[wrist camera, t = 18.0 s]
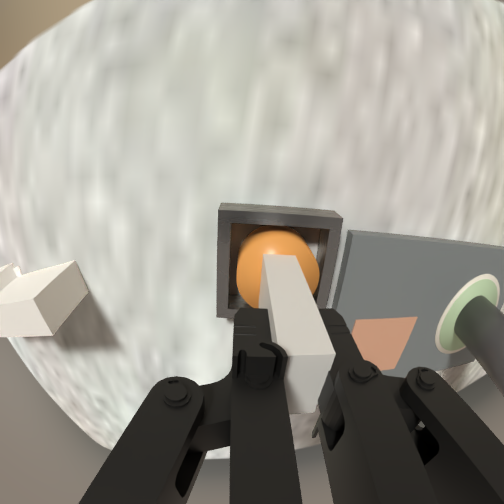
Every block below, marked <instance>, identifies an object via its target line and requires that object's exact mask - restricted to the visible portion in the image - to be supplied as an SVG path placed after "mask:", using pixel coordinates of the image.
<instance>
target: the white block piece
mask: <svg viewBox="0 0 504 504" xmlns="http://www.w3.org/2000/svg"><path fill="white" fill-rule="evenodd" d="M88 292H89V291H88V289H87V287H86V284H85V282H84V280H83V278H82V275H81V273H80V270H79V268H78V266H77V263H76V261H75V260H74V261H71V262H67V263H63V264H59V265H56V266H52V267H48V268H45V269H41V270H38V271H34V272H30V273H27V274H22V272H21V269H20V267H19V266H17V267H14V264H13V263H11V264H8V265H5V266H2V267H0V337H31V336H53V335H54V334H55V333H56V331H57V330H58V329H59V328H60V326H61V325H62V324H63V322H64V321H65V320H66V319H67V317H68V316H69V315H70V314H71V313H72V311H73V310H74V309H75V308H76V306H77V305H78V304H79V303H80V302H81V301H82V299H83V298H84V297H85V296H86V295H87V293H88Z"/></svg>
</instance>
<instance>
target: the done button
mask: <svg viewBox="0 0 504 504" xmlns="http://www.w3.org/2000/svg"><path fill="white" fill-rule="evenodd" d="M263 254H277V255H295V256H296V258H297V260H298V263H299V265H300V267H301V270H302V272H303V274H304V277H305V279H306V281H307V284H308V286H309V289H310V291H311V293H312V295H313V294H314V292H315V290H316V288H317V286H318V282H319V267H318V264H317V261H316V259H315V257H314V255H313V254H312V252H311V250H310V248H309V247H308V245H307V243H306V241H305V240H304V238H303V237H302V236H301V235H300V234H299V233H298V232H297V231H296V230H294V229H292V228H290V227H288V226H278V225H266V226H262V227H260V228H257V229H256V230H254V231H252V232H251V233H250V234H249V235H248V236H247V237H246V238H245V239H244V240H243V242H242V244H241V246H240V248H239V252H238V260H237V287H238V290H239V293H240V294H241V296H242V298H243V299H244V300H245V301H246V302H247V303H248V304H249V305H250V306H251V307H253V308H259V305H258V304H259V293H260V282H261V271H262V260H263Z"/></svg>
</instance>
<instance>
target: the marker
mask: <svg viewBox="0 0 504 504" xmlns="http://www.w3.org/2000/svg"><path fill="white" fill-rule="evenodd" d="M454 332H455V334H456V335H457V336H458V338H459V339H460V340H461V341H462V342H463V344H464V345H465V346H466V347H467V348H468V350H469V351H470V352H471V353H472V355H473V356H474V357H475V358H476V360H477V361H478V362H479V364H480V365H481V366H482V367H483V369H484V370H485V371H486V373H487V374H488V375H489V376H490V378H491V379H492V381H493V382H494V384H495V385H496V386H497V387H498V389H499V390H500V392H501V393H502V395H503V396H504V314H503V313H502V312H501V311H500V310H499V309H498V308H497V307H496V306H495V305H493V304H492V303H491V302H490V301H489V300H488V299H487V298H486V297H484V296H482V295H480V296H476V297H474V298H473V299H472V300H470V301H469V302H468V303H467V304H466V305H465V306H464V308H463V309H462V310H461V312H460V313H459V315H458V317H457V319H456V322H455V326H454Z"/></svg>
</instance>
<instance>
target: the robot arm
mask: <svg viewBox="0 0 504 504" xmlns="http://www.w3.org/2000/svg"><path fill="white" fill-rule="evenodd" d="M258 305H259V308H240V309H239V310H238V311H237V313H236V314H235V315H234V333H233V357H232V368H231V371H230V372H229V374H228V375H227V376H226V377H225V378H224V379H222V380H220V381H218V382H215V383H211V384H206V385H201V386H199V385H198V384H197V383H196V382H195V381H192V380H190V379H188V378H185V377H177V376H176V377H169V378H165V379H163V380H161V381H159V382H158V383H157V384H156V385H155V386H154V387H153V388H152V389H151V390H150V392H149V394H148V395H147V397H146V398H145V400H144V401H143V403H142V404H141V406H140V408H139V409H138V411H137V412H136V414H135V415H134V417H133V418H132V420H131V422H130V423H129V425H128V426H127V428H126V429H125V431H124V432H123V434H122V436H121V437H120V439H119V440H118V442H117V443H116V445H115V447H114V448H113V450H112V451H111V453H110V455H109V456H108V458H107V459H106V461H105V462H104V464H103V466H102V467H101V469H100V470H99V472H98V474H97V475H96V477H95V478H94V480H93V481H92V483H91V485H90V486H89V488H88V489H87V491H86V493H85V494H84V496H83V497H82V499H81V501H80V502H79V504H186V503H187V500H188V498H189V496H190V493H191V490H192V488H193V486H194V483H195V481H196V478H197V476H198V473H199V471H200V468H201V466H202V464H203V461H204V459H205V456H206V453H207V451H209V450H214V449H219V448H223V447H227V446H230V504H302V497H301V490H300V483H299V476H298V470H297V463H296V456H295V449H294V443H293V436H292V430H291V423H290V417H289V414H301V413H314V412H315V409H316V407H317V404H318V405H319V409H320V413H321V414H320V417H319V419H318V421H317V423H316V425H315V428H314V430H313V432H312V438H315V437H316V435H317V433H318V431H319V435H320V440H321V445H322V449H323V454H324V459H325V463H326V467H327V473H328V477H329V483H330V488H331V493H332V497H333V503H334V504H504V445H503V444H502V443H501V442H500V440H499V439H498V438H497V437H496V436H495V435H494V433H493V432H492V431H491V430H490V429H489V428H488V427H487V426H486V424H485V423H484V422H483V421H482V420H481V419H480V418H479V417H478V416H477V414H476V413H475V412H474V411H473V410H472V409H471V408H470V407H469V406H468V405H467V404H466V402H464V400H463V399H462V398H461V397H460V396H459V395H458V394H457V393H456V392H455V391H454V390H453V389H452V388H451V387H450V386H449V384H448V383H447V382H446V381H445V380H444V379H443V378H442V377H441V376H440V375H439V374H438V373H436V372H435V371H434V370H432V369H429V368H427V367H415V368H413V369H411V370H410V371H409V372H408V374H407V376H406V377H405V378H402V377H394V376H387V375H382V373H381V371H380V370H379V368H378V367H377V366H376V365H374V364H373V363H371V362H370V361H367V360H364V359H363V357H362V355H361V353H360V351H359V349H358V347H357V345H356V343H355V341H354V339H353V336H352V334H350V330H349V328H348V327H347V324H346V322H345V320H344V318H343V317H342V315H340V314H339V313H338V312H337V311H336V310H335V309H318V308H317V306H316V303H315V301H314V298H313V296H312V293H311V291H310V289H309V286H308V284H307V281H306V279H305V277H304V274H303V272H302V270H301V267H300V265H299V263H298V260H297V258H296V256H295V255H277V254H263V260H262V271H261V282H260V293H259V304H258ZM420 421H422V422H423V424H424V425H425V427H424V428H422V427H420V426H418V424H419V422H420Z"/></svg>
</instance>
